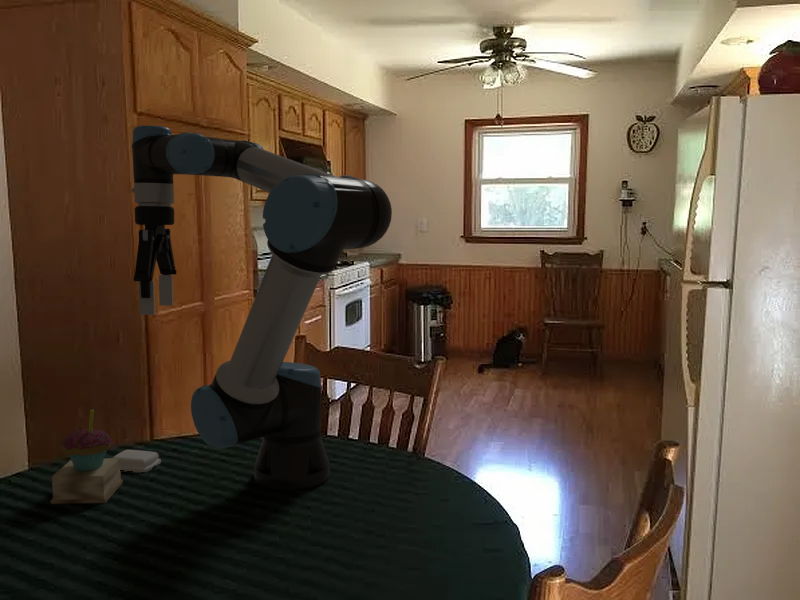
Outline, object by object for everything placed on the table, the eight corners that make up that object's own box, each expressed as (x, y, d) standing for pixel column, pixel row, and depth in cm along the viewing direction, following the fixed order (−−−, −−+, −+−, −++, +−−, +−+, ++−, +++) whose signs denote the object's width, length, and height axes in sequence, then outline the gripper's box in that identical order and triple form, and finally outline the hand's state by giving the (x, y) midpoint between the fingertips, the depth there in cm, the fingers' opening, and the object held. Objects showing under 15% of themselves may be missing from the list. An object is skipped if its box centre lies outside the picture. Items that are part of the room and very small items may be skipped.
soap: (105, 471, 140) (105, 457, 139) (125, 459, 146) (124, 446, 146) (145, 475, 138) (145, 461, 138) (163, 463, 145) (163, 449, 144)
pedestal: (122, 482, 133) (122, 457, 132) (105, 502, 124) (104, 476, 123) (72, 482, 132) (71, 458, 132) (50, 503, 123) (49, 477, 122)
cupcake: (122, 463, 129) (120, 402, 128) (84, 478, 122) (81, 413, 120) (90, 455, 133) (87, 396, 132) (51, 470, 125) (48, 407, 124)
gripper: (153, 205, 149) (156, 301, 152) (113, 204, 124) (117, 318, 127) (188, 206, 149) (190, 301, 152) (155, 204, 125) (159, 319, 127)
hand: (157, 309), depth 139 cm, fingers open, 13 cm apart
